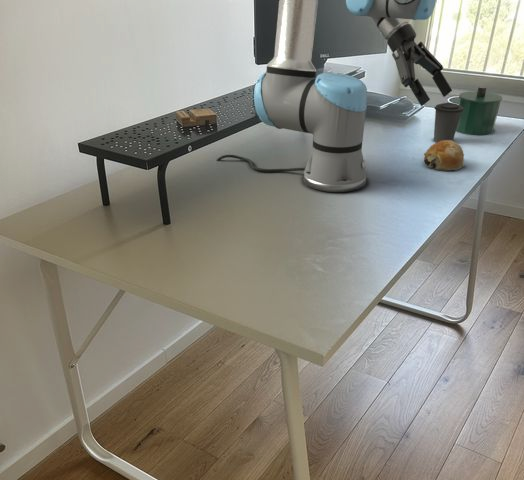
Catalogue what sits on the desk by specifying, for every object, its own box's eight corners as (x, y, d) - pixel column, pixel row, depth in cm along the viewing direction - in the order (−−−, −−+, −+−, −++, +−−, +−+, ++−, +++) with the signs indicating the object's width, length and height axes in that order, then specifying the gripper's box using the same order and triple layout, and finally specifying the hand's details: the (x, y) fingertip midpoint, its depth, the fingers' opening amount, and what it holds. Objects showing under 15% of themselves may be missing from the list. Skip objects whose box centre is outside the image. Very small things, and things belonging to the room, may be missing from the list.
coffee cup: (423, 138, 163) (429, 102, 157) (447, 135, 165) (454, 99, 159) (438, 146, 157) (445, 109, 151) (463, 143, 159) (470, 106, 153)
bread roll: (457, 185, 143) (477, 157, 139) (424, 168, 141) (443, 139, 136) (447, 171, 151) (466, 145, 147) (416, 155, 149) (434, 127, 144)
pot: (449, 131, 169) (455, 99, 163) (460, 122, 176) (466, 91, 171) (487, 137, 164) (495, 104, 158) (497, 127, 171) (504, 96, 166)
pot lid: (453, 102, 163) (455, 88, 161) (465, 93, 172) (467, 80, 169) (495, 107, 158) (498, 94, 156) (505, 98, 166) (509, 85, 164)
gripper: (409, 36, 166) (446, 98, 167) (364, 48, 151) (405, 115, 152) (429, 17, 160) (467, 81, 161) (384, 27, 145) (426, 98, 146)
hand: (437, 98), depth 157 cm, fingers open, 13 cm apart
